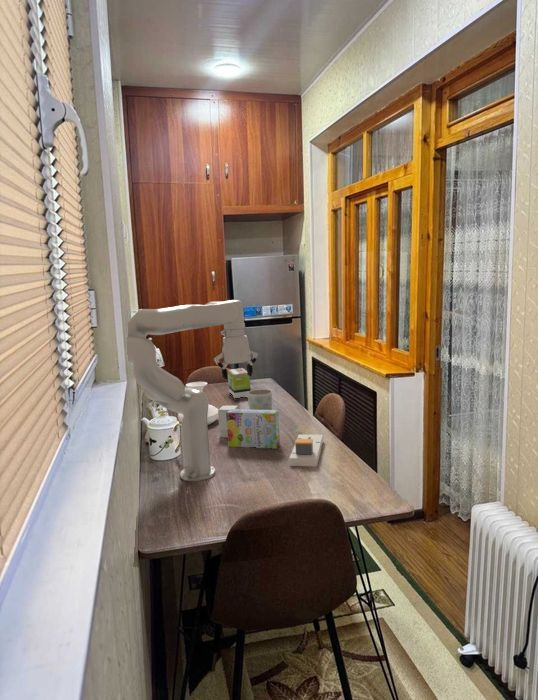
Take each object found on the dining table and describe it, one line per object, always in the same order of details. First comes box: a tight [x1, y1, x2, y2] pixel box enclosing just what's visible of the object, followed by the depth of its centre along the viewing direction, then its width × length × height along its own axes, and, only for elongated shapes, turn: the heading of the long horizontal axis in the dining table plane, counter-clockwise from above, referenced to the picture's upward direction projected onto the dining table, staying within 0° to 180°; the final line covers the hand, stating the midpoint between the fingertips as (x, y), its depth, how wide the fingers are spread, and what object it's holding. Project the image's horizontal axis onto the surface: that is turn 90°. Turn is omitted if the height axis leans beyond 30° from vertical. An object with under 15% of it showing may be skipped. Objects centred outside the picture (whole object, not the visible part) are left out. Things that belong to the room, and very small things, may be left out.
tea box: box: [227, 367, 252, 399], centre depth 288 cm, size 15×10×15 cm, turn 17°
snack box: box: [226, 408, 281, 450], centre depth 203 cm, size 21×6×15 cm, turn 74°
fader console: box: [289, 434, 324, 467], centre depth 193 cm, size 26×10×3 cm, turn 169°
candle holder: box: [177, 381, 219, 425], centre depth 239 cm, size 20×20×19 cm
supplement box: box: [218, 405, 239, 438], centre depth 219 cm, size 7×7×13 cm
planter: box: [247, 388, 273, 410], centre depth 251 cm, size 12×12×11 cm
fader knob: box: [294, 438, 313, 454], centre depth 185 cm, size 4×6×5 cm, turn 79°
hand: (237, 377), depth 190 cm, fingers open, 9 cm apart
